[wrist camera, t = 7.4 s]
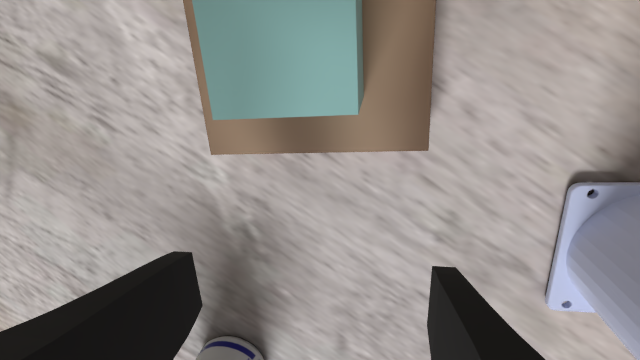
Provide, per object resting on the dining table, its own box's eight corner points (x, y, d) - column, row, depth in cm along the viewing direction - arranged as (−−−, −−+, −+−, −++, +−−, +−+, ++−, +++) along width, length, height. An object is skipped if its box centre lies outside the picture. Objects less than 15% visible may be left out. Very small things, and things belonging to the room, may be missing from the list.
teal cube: (361, -30, 14) (354, -73, 9) (363, 96, 15) (358, 114, 11) (245, -17, 14) (183, -50, 10) (259, 101, 16) (212, 120, 12)
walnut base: (432, -115, 14) (443, -147, 12) (421, 138, 18) (428, 150, 16) (194, -80, 16) (164, -102, 14) (230, 142, 20) (211, 154, 18)
